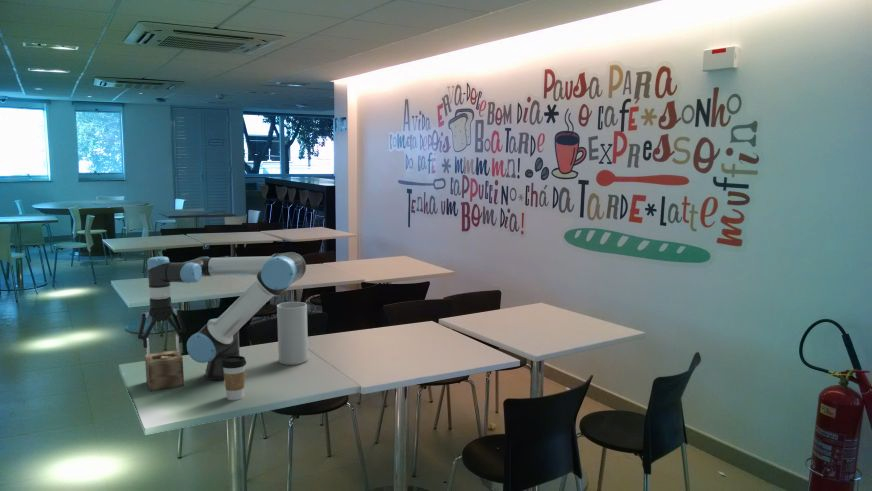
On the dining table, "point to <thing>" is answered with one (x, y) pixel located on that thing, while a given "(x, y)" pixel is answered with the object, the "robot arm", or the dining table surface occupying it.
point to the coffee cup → (234, 376)
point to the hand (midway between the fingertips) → (163, 353)
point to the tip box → (164, 370)
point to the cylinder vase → (292, 333)
